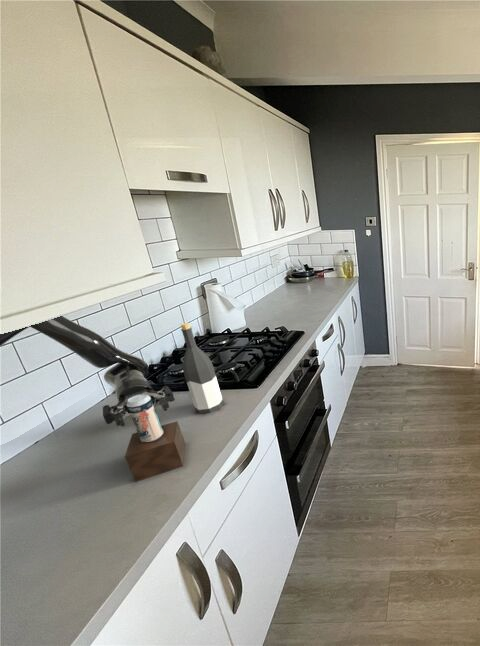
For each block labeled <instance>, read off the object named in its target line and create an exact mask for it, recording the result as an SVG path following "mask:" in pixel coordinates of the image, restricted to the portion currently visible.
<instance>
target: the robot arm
mask: <svg viewBox="0 0 480 646" xmlns="http://www.w3.org/2000/svg"><path fill="white" fill-rule="evenodd" d="M29 328H31V329H33V330H35V331H37V332H39V333H40V334H43V335H45V336H46V337H48V338H50V339H52V340H53V341H55V342H57V343H58V344H60V345H62V346H64V347H65V348H67V349H68V350H69V351H71V352H72V353H74V354H76V355H77V356H78V357H80V358H81V359H83V360H84V361H85V362H87V363H89V364H90V365H92V366H93V367H95V368H96V369H104V368H108V367H111V366H112V367H111V368H109V369H108V370H106V372H104V374H103V380H104V381H105V383H106V384H108V386H110V387H111V388H114V389H115V395H116V398H117V404H115V405H112V406H111V405H109V404H106V405H104V406H102V417H103V419H104V422H105V424H106V425H110V424H112V423H113V422H115V425H116V426H117V427H119V426H120V427H125V426H126V424H125V420H124V419H125V418H127V417H131V415H130V412H129V410H128V407H127V402H128V399H130V398H131V397H133V396H136V395H139V394H147V395H148V396H150V397H151V400H152V403H153V406H154V408H155V407H158V406H161V408H162V410H163V412H166V411H168V409H169V408H170V404H169V402H170V403H171V402H172V403H173V402H175V401H176V398H175V396H174V393H173V391H172V390H171V388H169V386H168V385H164V386H162V387H161V388H162V389H160V390H158V391H157V390H154V389H153V387H152V385H151V384H150V381H149V380H148V379H147V378H146V374H147V373H148V371H149V365H148V363H147V362H146V361H145V360H144V359H142V358H141V357H139V356H137V355H134V354H130V353H128V352H126V351H123V350H122V349H120V348H118V347H116V346H115V345H114V344H113V343H111V342H110V341H108V340H107V339H106V338H105V337H103V336H102V335H100V334H99V333H97V332H95V331H93V330H92V329H90V328H87V327H85V326H83V325H80V324H79V323H76V322H74V321H72V320H70V319H69V318H67V317H65V316H64V315H62V316H60V317H57V318H54V319H51V320H48V321H45V322H42V323H39V324H35V325H31V326H29V327H25V328H22V329H19V330H15V331H12V332H8V333H4V334H0V348H1V347H3V345H5V344H6V343H8V342H9V341H10V340H11V339H13V338H14V337H15V336H17V335H18V334H21V333H22V332H23V331H25V330H27V329H29Z"/></svg>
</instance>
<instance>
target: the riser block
mask: <svg viewBox="0 0 480 646" xmlns="http://www.w3.org/2000/svg"><path fill="white" fill-rule="evenodd" d="M161 427H162V430H163V434H162V435H161V436H160V437H159V438H158V439H156V440H154V441H151V442H142V441H141V440H140V437H139V435H138V432H137V431H136V432H134V433H132V434H131V437H130V440H129V443H128V446H127V449H126V452H125V454H124V458H125V461H126V463H127V465H128V467H129V470H130V473H131V475H132V477H133V479H134V482H140V481H142V480H145V479H149V478H151V477H154V476H158V475H160V474H161V475H162V474H164V473H166V472H170V471H172V470H175V469H179V468H182V467H184V462H185V453H186V442H185V439H184V435H183V432H182V429H181V427H180V424H179V422H178V420H176V421H172V422H170V423H166V424H161Z"/></svg>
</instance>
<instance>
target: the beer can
mask: <svg viewBox="0 0 480 646" xmlns="http://www.w3.org/2000/svg"><path fill="white" fill-rule="evenodd" d="M127 407H128V410H129V412H130V417H131V419H132V423H133V424H134V427H135V430H136V433H137V432H138V435H139V437H140V440H141V441H142V442H151V441H154V440H156V439H158V438H159V437H160V436H161V435H162V434H163V430H162V427H161V426H162V424H161V422H160V420H159V416H158V413H157V412H156V409H155V407H154V406H153V403H152V400H151V397H150V396H148V395H147V394H139V395H136V396H133V397H131V398H130V399H128V402H127Z"/></svg>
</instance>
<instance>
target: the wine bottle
mask: <svg viewBox="0 0 480 646" xmlns="http://www.w3.org/2000/svg"><path fill="white" fill-rule="evenodd" d="M180 327H181V329H180V331H181V332H182V337H183V339H184V342H185V345H186V350H185V352H184V356H183V359H182V372H183V375H184V378H185V381H186V384H187V385H186V386H187V387H188V391H189V393H190V394H189V395H190V397H191V400H192V403H193V406H194V409H195V411H196V412H197V413H199V414H200V415H202V414H210V413H213V412H214V411H215V412H216V410H219V409H220V408H221V407H222V406H223V404H224V400H223V399H224V398H223V395H222V393H221V388H220V386H219V381H218V379H217V374H216V372H215V367H214V364H213V362H212V361H211V358H210V357H209V356H208V355H207V354H206V353H205V351H203V350H202V349H201V348H199V347H198V346H197V343H196V339H195V337H194V333H193V328H192V327H191V325H190V323H188V322H184V323H181V324H180Z"/></svg>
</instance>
